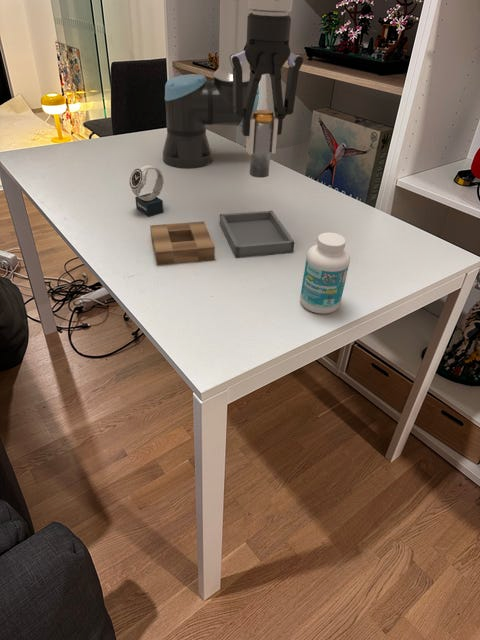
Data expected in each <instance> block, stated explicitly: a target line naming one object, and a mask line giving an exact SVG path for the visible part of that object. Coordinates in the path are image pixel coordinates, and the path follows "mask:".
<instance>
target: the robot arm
mask: <svg viewBox="0 0 480 640" xmlns="http://www.w3.org/2000/svg"><path fill="white" fill-rule="evenodd" d="M293 2H294V0H219V37H218V38H219V40H218V41H219V45H218V47H219V48H218V51H219V52H218V57H219V58H218V68H217V69H216V70H215V72H213V80H207V78H206V76H205V75H204V74H200V73H197V74H196V73H191V74H190V73H189V74H183V75H178V76H174V77H171V78H170V79H168V80H167V81H166V83H165V84H164V101H165V111H166V112H165V113H166V116H165V118H166V138H165V140H164V146H163V150H162V161H163V163H165V164H166V165H169V166H172V167H176V168H181V169H182V168H184V169H185V168H186V169H191V168H192V169H194V168H201V167H205V166H208V165H209V164H211V163H212V159H213V153H212V149H211V146H210V143H209V140H208V136H207V126H235V127H237V126H238V127H239V126H241V132H242V133H241V134H242V135H243V136H244V137H246V140H245V151H246V153H248V155H251V154H253V144H254V126H255V119H254V118H253V111H256V110H258V107H259V99H260V96H259V95H260V81H261V80H262V76H263V75H267V74H268V75H269V78H270V82H271V83H270V84H271V85H270V86H271V94H272V102H273V103H272V104H273V113H274V114H273V127H272V139H271V152H270V154H276V152H277V151H276V150H277V141H278V140H277V139H278V136H280V135H282V133H283V132H282V131H283V123H284V122H283V121H284V119H286V116H287V115H292V114H293V113H294V107H295V101H296V94H297V87H298V78H299V72H300V70H301V67H302V64H303V63H304V58H303V57H302V56H301V55H299V54H295V53H293V52H292V51H291V48H290V35H291V26H292V25H291V24H292V17H291V16H290V15H289V13H290V12H292V10H293ZM286 62H287V66H288V69H287V75H286V82H285V84H286V85H285V92H284V97H283V87H282V67H284V65H285V64H286ZM283 98H284V99H283Z"/></svg>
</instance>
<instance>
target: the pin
mask: <svg viewBox="0 0 480 640" xmlns="http://www.w3.org/2000/svg"><path fill="white" fill-rule="evenodd" d="M273 115H275V113H274V111H272V110H271V111H270V110H267V109H257V110H256V111H253V118H254V119H255V126H254V144H253V154H249V156H250V159H249V160H250V161H249V176H250V177H253V178H258V179H259V178H267V177H268V176H269V175H270V174H269V173H270V161H271V139H272V127H273Z"/></svg>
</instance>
